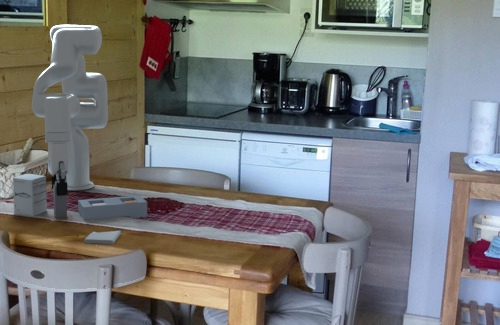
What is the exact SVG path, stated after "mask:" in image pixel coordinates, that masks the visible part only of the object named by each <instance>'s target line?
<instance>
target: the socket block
mask: <svg viewBox="0 0 500 325" xmlns="http://www.w3.org/2000/svg"><path fill="white" fill-rule="evenodd" d="M77 204H78V205H77V207H78V208H77V210H78V214H79V215H80V217H81V218H82V220H83V221H89V220H90V221H91V220H96V219H97V220H99V219H108V218H109V219H110V218H120V217H129V218H130V219H131V218H132V219H141V218H140V217H143V218H148V201H147V200H146V199H145V198H144V197H143V196H141V195H140V194H138V195H127V196H115V197H114V196H113V197H101V198H100V197H99V198H88V199H78V200H77Z"/></svg>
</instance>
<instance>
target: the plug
mask: <svg viewBox="0 0 500 325" xmlns="http://www.w3.org/2000/svg"><path fill="white" fill-rule="evenodd" d="M56 183H57V181H55V184H53V189H52V190H53V191H52V192H53V193H52V194H53V214H54V216H55V218H66V217H67V212H68V208H67V207H68V202H67V200H68V199H67V196H68V195H65V196H57V194H56Z"/></svg>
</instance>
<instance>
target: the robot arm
mask: <svg viewBox="0 0 500 325" xmlns="http://www.w3.org/2000/svg"><path fill="white" fill-rule="evenodd" d="M49 35H50V40H51V42H52V47H51V48H52V50H51V58H50V65H49V67H47V68H46V69H45V70H44V71H43V72H41V74H40V75H39V76H37V79H36V81H35V82H34V85H33V91H32V100H31V110H32V112H33V114H34V115H35V116H36V117H38V118H44V140H45V144H46V143H47V170H48V173H49V174H50V175H51V189H52V190H53V184H55V181H57V183H56V194H57V196H65V195H66V196H68V191H72V192H73V191H85V190H90V189H93V187H94V186H95V184H94V182H93V181H91V180H90V148H89V147H90V146H89V145H90V144H89V143H90V142H89V139H88V137H87V134H85V133H84V131H83V130H85V129H86V130H88V129H91V130H92V129H93V130H94V129H95V130H96V129H98V130H99V129H104V128H106V127H107V124H108V120H109V103H108V102H109V101H108V99H109V98H108V82H107V79H106V77H105V75H104V74H102V73H98V72H87V71H86V59H85V56H84V55H92V56H93V55H96V54H97V53H99V50H100V48H101V47H102V42H103V34H102V31H101V28H99V27H98V26H96V25H83V24H81V25H79V24H59V25H54V26H52V27H51V28H50V31H49ZM59 83H61V89H62V90H61V91H62V93H57V92H56V93H51V92H50V93H49V92H47V93H46V92H45V91H47V90H48V89H49V88H50V87H52V86H54V85H56V84H59ZM81 100H93V101H94V102H84V101H83V102H81Z"/></svg>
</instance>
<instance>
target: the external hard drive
mask: <svg viewBox="0 0 500 325" xmlns="http://www.w3.org/2000/svg"><path fill="white" fill-rule="evenodd" d="M123 232H124V229H123V230H122V229H121V230H111V231H110V230H109V231H101V232H96V231H95V230H94V231H93V232H91V233H89V234H88V235H87V236H86V237H85V239H84V241H83V242H84V243H85V244H104V245H105V244H106V245H107V244H108V245H109V244H111V245H113V244H115V243H116V241H117V240H118V238H119V237H120V236H121V234H122V233H123Z"/></svg>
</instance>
